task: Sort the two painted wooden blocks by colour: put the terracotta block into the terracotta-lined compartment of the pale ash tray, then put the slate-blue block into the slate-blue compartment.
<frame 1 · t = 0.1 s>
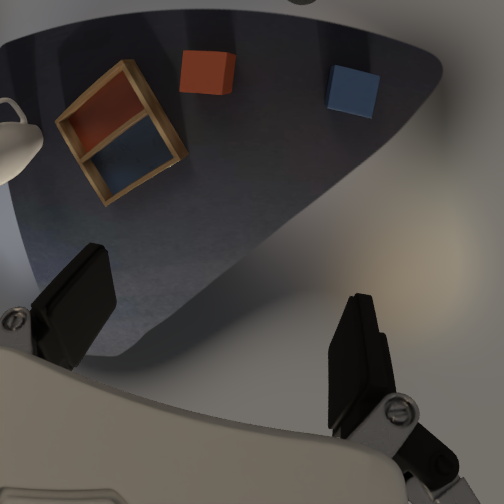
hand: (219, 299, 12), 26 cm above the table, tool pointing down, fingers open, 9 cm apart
blue block: (347, 89, 29), on the table
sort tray: (121, 132, 35), on the table
mug: (36, 126, 36), on the table
terracotta block: (214, 71, 30), on the table
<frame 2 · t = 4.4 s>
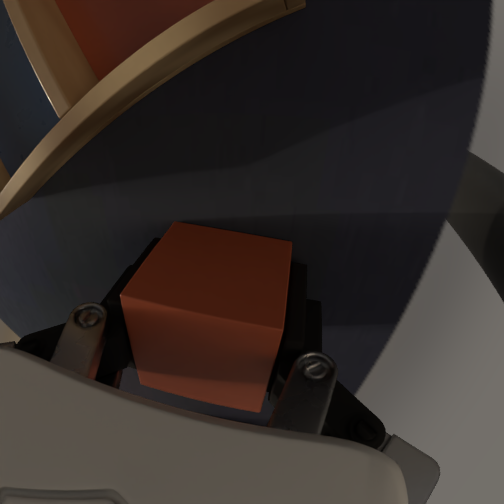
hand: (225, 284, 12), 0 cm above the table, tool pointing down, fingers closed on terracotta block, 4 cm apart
terracotta block: (227, 278, 13), on the table, touching gripper
when the fingers open (1 cm above the table, at t = 10.5 s): terracotta block stays where it is, resting on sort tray.
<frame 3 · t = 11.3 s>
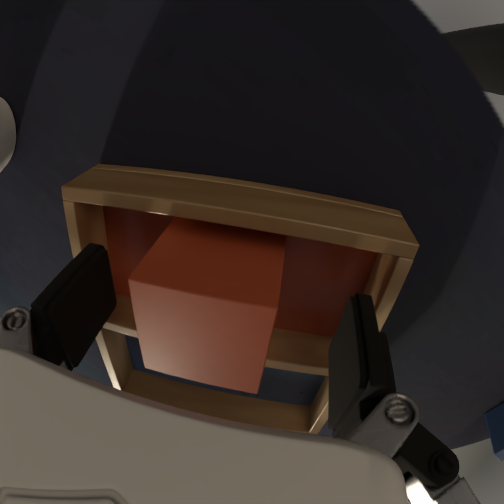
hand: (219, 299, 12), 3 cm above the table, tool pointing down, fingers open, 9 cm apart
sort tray: (227, 312, 16), on the table
mug: (9, 107, 12), on the table
terracotta block: (226, 268, 13), point 1 cm above the table, touching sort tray
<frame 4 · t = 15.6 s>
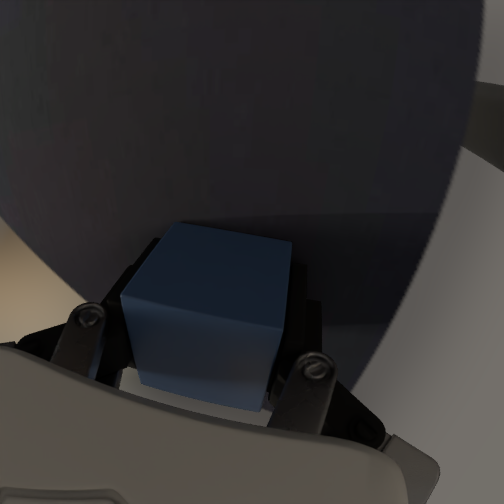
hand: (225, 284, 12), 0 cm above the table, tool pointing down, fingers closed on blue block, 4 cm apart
blue block: (227, 278, 13), on the table, touching gripper
when the fingers open (1 cm above the table, at t = 22.4 s): blue block stays where it is, resting on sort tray.
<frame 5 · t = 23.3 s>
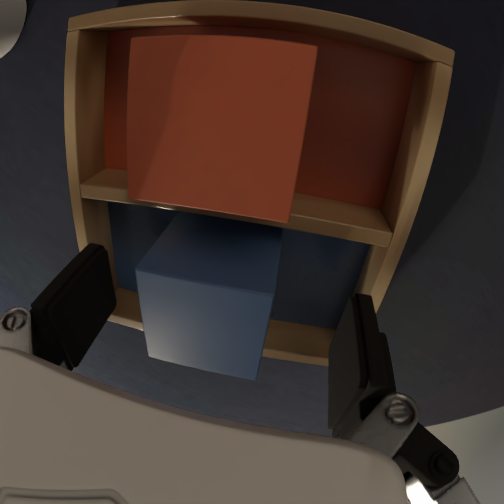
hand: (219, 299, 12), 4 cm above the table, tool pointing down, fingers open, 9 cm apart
blue block: (226, 262, 14), point 1 cm above the table, touching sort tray
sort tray: (238, 183, 13), on the table
terracotta block: (241, 107, 11), point 1 cm above the table, touching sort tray
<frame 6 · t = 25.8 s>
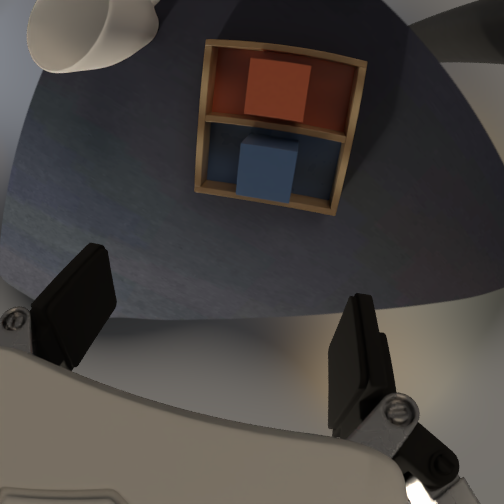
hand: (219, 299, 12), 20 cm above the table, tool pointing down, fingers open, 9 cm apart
blue block: (271, 159, 28), point 1 cm above the table, touching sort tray
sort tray: (277, 121, 27), on the table
mug: (153, 15, 22), on the table
terracotta block: (281, 87, 24), point 1 cm above the table, touching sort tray
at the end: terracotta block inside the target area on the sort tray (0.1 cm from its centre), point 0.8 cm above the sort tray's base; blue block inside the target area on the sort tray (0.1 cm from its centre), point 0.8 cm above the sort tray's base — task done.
